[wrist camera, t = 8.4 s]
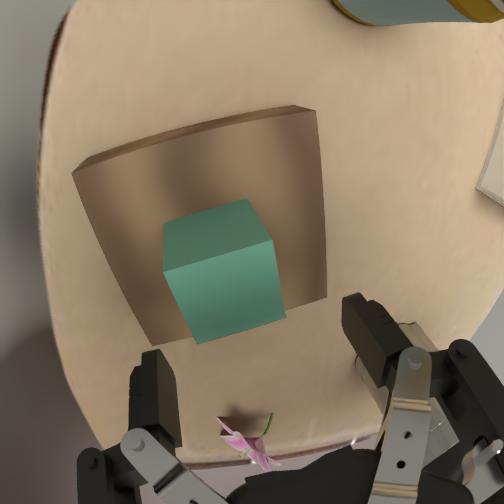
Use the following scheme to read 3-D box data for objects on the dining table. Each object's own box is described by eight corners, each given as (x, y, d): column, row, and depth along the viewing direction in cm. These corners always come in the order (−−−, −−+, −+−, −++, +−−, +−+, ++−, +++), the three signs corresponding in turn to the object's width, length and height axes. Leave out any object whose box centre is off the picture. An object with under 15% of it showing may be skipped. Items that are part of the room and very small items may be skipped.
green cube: (247, 198, 18) (272, 239, 14) (262, 266, 21) (286, 317, 16) (164, 222, 17) (163, 272, 13) (189, 288, 20) (197, 344, 16)
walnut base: (291, 104, 19) (315, 110, 16) (308, 268, 27) (326, 297, 24) (89, 156, 18) (71, 173, 14) (152, 311, 25) (152, 346, 22)
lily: (237, 383, 34) (212, 455, 27) (321, 413, 35) (306, 481, 28) (213, 406, 43) (192, 460, 35) (281, 430, 43) (266, 483, 36)
